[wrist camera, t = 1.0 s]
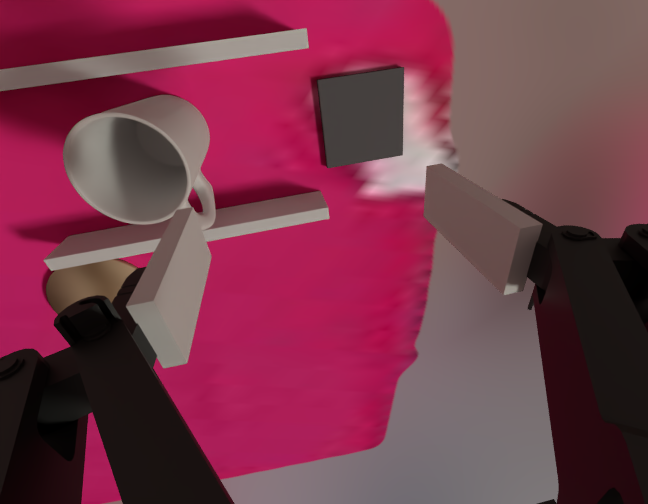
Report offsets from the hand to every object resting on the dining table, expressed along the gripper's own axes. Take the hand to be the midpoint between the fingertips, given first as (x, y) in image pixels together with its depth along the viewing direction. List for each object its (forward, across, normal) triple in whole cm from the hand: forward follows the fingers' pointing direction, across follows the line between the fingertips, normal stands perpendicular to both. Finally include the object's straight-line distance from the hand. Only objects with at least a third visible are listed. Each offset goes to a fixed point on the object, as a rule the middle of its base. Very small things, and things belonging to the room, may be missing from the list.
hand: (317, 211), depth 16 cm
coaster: (+18, -24, -14) cm, 33 cm away
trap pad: (+18, +7, 0) cm, 20 cm away
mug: (+18, -10, 0) cm, 21 cm away
